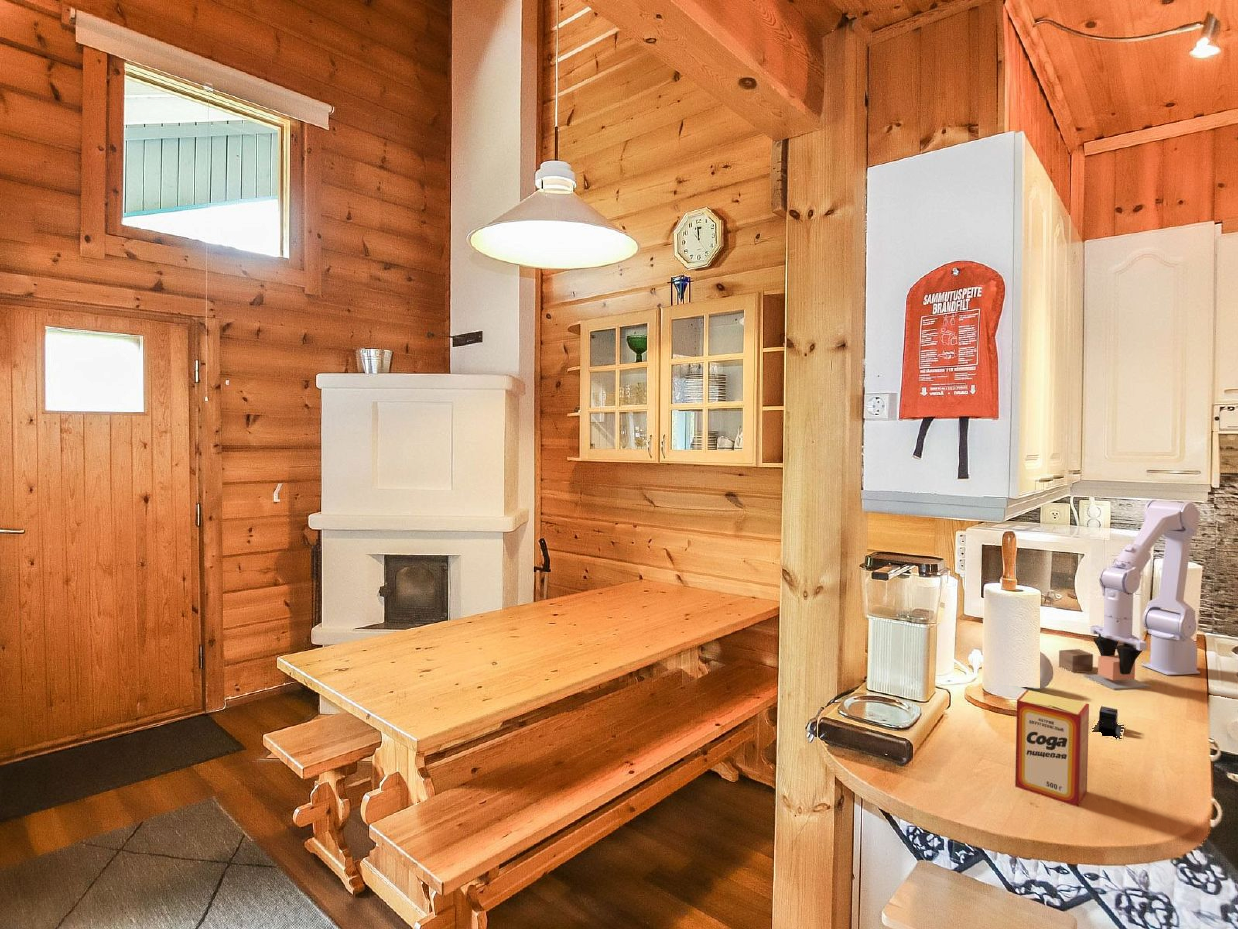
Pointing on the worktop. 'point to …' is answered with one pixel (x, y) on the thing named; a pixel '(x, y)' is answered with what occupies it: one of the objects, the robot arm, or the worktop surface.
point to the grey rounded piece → (1045, 671)
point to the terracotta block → (1113, 668)
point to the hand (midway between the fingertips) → (1116, 670)
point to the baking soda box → (1052, 746)
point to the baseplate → (1117, 682)
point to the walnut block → (1075, 660)
